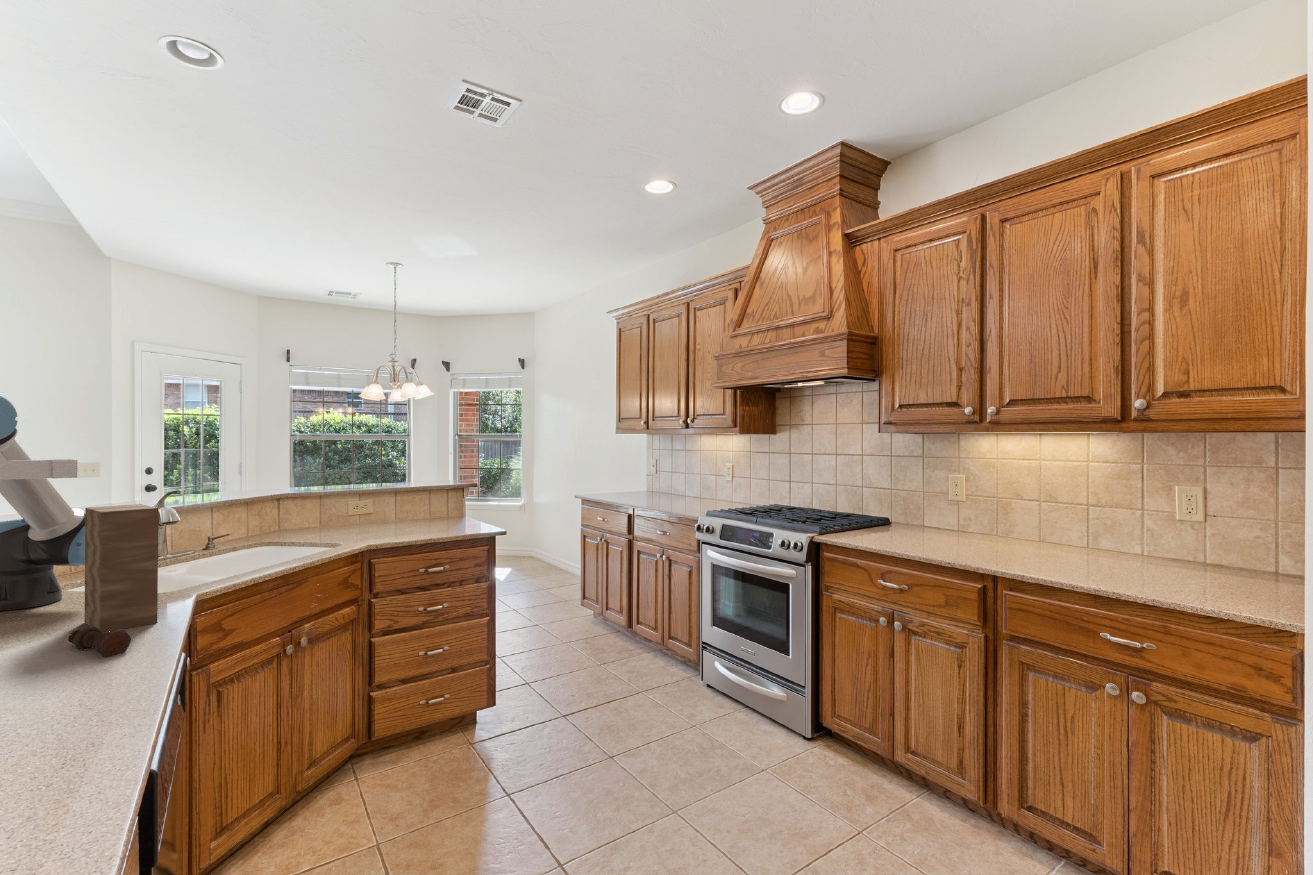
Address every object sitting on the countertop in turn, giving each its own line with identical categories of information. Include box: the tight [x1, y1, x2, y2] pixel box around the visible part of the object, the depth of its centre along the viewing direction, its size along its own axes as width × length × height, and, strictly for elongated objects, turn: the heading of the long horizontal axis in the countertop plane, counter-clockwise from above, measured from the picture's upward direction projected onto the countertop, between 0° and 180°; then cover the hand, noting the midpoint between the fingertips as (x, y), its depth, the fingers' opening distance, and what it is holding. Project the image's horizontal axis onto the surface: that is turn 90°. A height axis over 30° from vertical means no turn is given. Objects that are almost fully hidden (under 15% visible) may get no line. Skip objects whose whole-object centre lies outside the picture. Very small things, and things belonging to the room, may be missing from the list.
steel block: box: [0, 458, 78, 480], centre depth 133 cm, size 7×20×4 cm, turn 144°
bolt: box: [68, 626, 132, 658], centre depth 130 cm, size 6×5×15 cm
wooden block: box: [83, 503, 159, 633], centre depth 149 cm, size 14×10×28 cm
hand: (2, 457), depth 132 cm, fingers closed on steel block, 4 cm apart
